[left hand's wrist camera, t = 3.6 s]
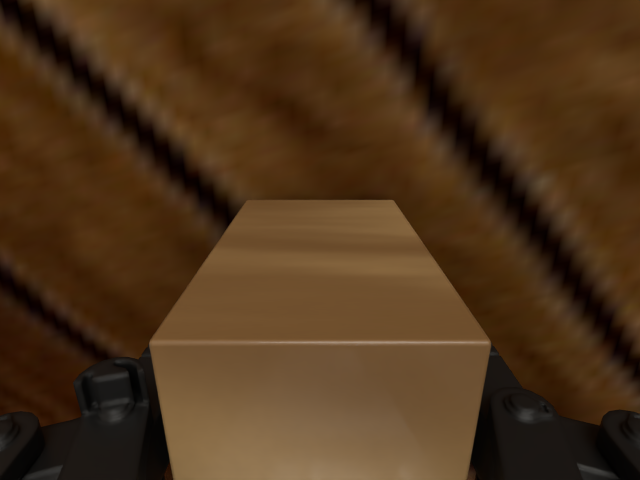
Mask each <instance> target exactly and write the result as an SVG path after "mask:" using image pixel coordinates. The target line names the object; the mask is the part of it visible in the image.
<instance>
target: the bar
mask: <svg viewBox="0 0 640 480" xmlns="http://www.w3.org/2000/svg"><path fill="white" fill-rule="evenodd" d="M149 347H150V352H151V358H152V363H153V369H154V375H155V380H156V386H157V391H158V397H159V402H160V408H161V414H162V419H163V425H164V430H165V436H166V441H167V447H168V453H169V458H170V464H171V469H172V475H173V480H467V476H468V470H469V465H470V459H471V454H472V448H473V443H474V437H475V432H476V426H477V421H478V415H479V410H480V404H481V399H482V393H483V387H484V382H485V376H486V371H487V365H488V360H489V354H490V349H491V342H490V339H489V338H488V336H487V335H486V334H485V332H484V331H483V329H482V328H481V326H480V325H479V323H478V322H477V320H476V319H475V318H474V316H473V315H472V313H471V312H470V310H469V309H468V307H467V306H466V305H465V303H464V302H463V300H462V299H461V297H460V296H459V294H458V293H457V292H456V290H455V289H454V287H453V286H452V284H451V283H450V281H449V280H448V279H447V277H446V276H445V274H444V273H443V271H442V270H441V268H440V267H439V266H438V264H437V263H436V261H435V260H434V258H433V257H432V255H431V254H430V252H429V251H428V250H427V248H426V247H425V245H424V244H423V242H422V241H421V239H420V238H419V237H418V235H417V234H416V232H415V231H414V229H413V228H412V226H411V225H410V224H409V222H408V221H407V219H406V218H405V216H404V215H403V213H402V212H401V211H400V209H399V208H398V206H397V205H396V203H395V202H394V201H393V200H247V201H246V202H245V203H244V205H243V206H242V208H241V209H240V211H239V212H238V214H237V215H236V216H235V218H234V219H233V221H232V222H231V224H230V225H229V227H228V228H227V230H226V231H225V232H224V234H223V235H222V237H221V238H220V240H219V241H218V243H217V244H216V245H215V247H214V248H213V250H212V251H211V253H210V254H209V256H208V257H207V259H206V260H205V261H204V263H203V264H202V266H201V267H200V269H199V270H198V272H197V273H196V274H195V276H194V277H193V279H192V280H191V282H190V283H189V285H188V286H187V288H186V289H185V290H184V292H183V293H182V295H181V296H180V298H179V299H178V301H177V302H176V303H175V305H174V306H173V308H172V309H171V311H170V312H169V314H168V315H167V317H166V318H165V319H164V321H163V322H162V324H161V325H160V327H159V328H158V330H157V331H156V332H155V334H154V335H153V337H152V338H151V340H150V343H149Z"/></svg>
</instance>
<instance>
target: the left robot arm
mask: <svg viewBox="0 0 640 480" xmlns="http://www.w3.org/2000/svg"><path fill="white" fill-rule="evenodd" d="M490 342H491V341H490ZM73 384H74V388H75V392H76V395H77V399H78V403H79V406H80V410H81V414H82V416H81V417H80V418H77V419H73V420H70V421H65V422H61V423H57V424H53V425H48V426H44V427H41V426H40V423H39V420H38V418H37V417H36V416H35V415H34V414H33V413H29V412H22V411H20V412H13V413H7V414H4V415H1V416H0V480H165V477H164V473H165V471H166V468H167V466H168V463H169V461H170V458H169V453H168V447H167V441H166V436H165V430H164V425H163V419H162V414H161V408H160V402H159V397H158V391H157V386H156V380H155V375H154V369H153V363H152V358H151V352H150V347H149V345H148V347H147V348H146V349H145V351H144V352H143V354H142V357H140V358H139V359H134V358H130V357H116V358H112V359H108V360H104V361H101V362H99V363H97V364H95V365H93V366H90V367H89V368H88V369H86V370H85V371H83V372H82V373H81V374H79V376H78V377H77V378H76V380H75V381H74V382H73ZM471 461H472V463H473V466H474V468H475V471H476V477H475V480H640V414H638V413H636V412H631V411H625V410H614V411H609V412H608V413H606V414H605V415H604V416H603V418H602V421H601V424H600V426H599V425H595V424H590V423H586V422H582V421H577V420H573V419H569V418H566V417H562V416H559V415H558V413H557V412H556V410H555V409H554V407H553V406H552V405H551V404H550V403H549V402H548V401H546V400H545V399H544V398H543V397H541V396H539V395H537V394H535V393H533V392H532V391H529V390H525V389H523V388H522V386H521V385H520V384H519V382H518V381H517V379H516V378H515V376H514V375H513V373H512V372H511V370H510V369H509V368H508V366H507V365H506V363H505V362H504V360H503V359H502V357H501V356H499V353H498V352H497V350H496V349H495V347H494V346H492V343H491V349H490V354H489V360H488V365H487V371H486V376H485V382H484V387H483V393H482V399H481V404H480V410H479V415H478V421H477V426H476V432H475V437H474V443H473V448H472V454H471Z"/></svg>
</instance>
